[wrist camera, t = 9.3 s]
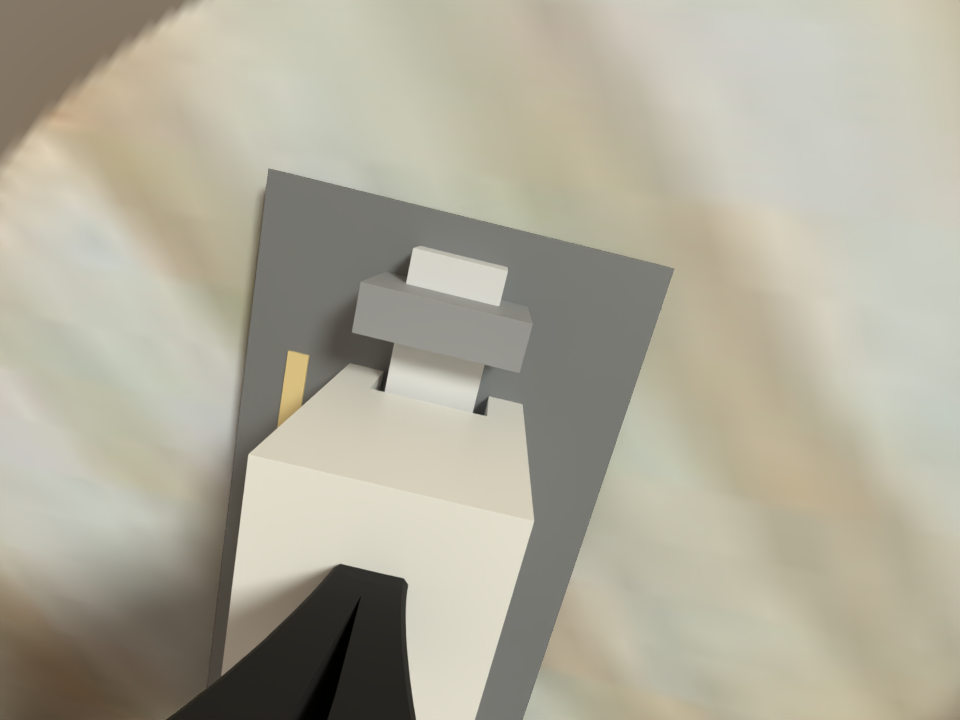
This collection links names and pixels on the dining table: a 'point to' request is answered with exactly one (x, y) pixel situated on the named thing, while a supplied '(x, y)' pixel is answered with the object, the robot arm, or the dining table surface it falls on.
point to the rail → (451, 362)
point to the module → (390, 525)
